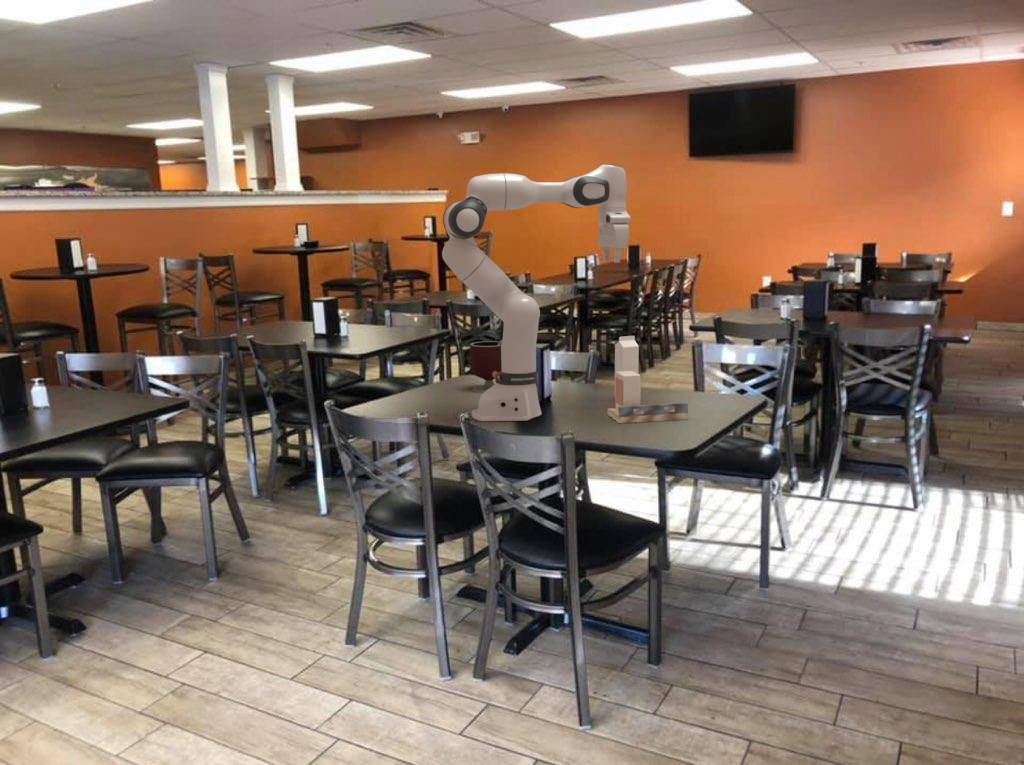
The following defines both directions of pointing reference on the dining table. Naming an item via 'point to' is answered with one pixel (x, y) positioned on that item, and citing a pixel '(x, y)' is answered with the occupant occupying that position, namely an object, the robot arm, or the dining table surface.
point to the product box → (627, 389)
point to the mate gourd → (485, 362)
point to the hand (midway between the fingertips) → (611, 261)
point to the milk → (626, 355)
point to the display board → (650, 413)
